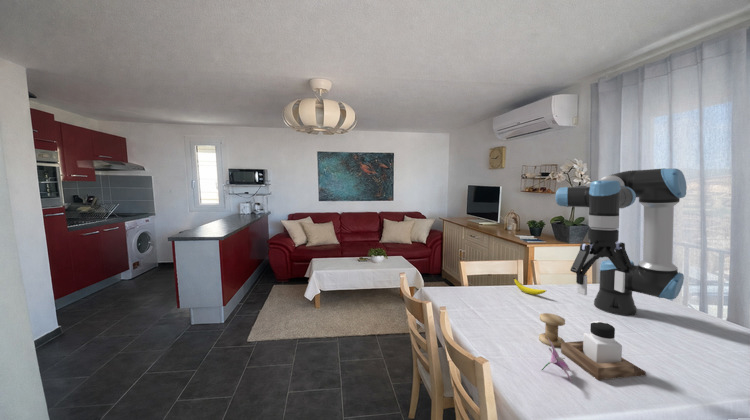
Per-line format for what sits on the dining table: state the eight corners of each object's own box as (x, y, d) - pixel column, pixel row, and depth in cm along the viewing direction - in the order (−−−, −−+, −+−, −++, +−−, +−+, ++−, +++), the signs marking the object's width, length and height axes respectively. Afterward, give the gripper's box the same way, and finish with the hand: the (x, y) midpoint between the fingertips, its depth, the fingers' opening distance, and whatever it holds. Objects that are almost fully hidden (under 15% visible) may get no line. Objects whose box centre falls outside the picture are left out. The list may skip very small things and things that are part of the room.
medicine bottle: (621, 367, 85) (623, 330, 84) (596, 365, 86) (598, 328, 85) (605, 353, 92) (606, 319, 91) (582, 352, 93) (583, 318, 92)
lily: (560, 395, 77) (580, 369, 75) (522, 360, 86) (539, 336, 84) (571, 387, 85) (589, 364, 83) (535, 356, 94) (551, 334, 92)
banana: (544, 300, 140) (544, 288, 140) (511, 288, 157) (511, 278, 157) (548, 299, 142) (548, 287, 141) (515, 288, 159) (515, 277, 158)
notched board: (602, 349, 97) (603, 339, 97) (645, 375, 83) (646, 364, 83) (561, 352, 95) (561, 342, 95) (597, 380, 81) (598, 368, 81)
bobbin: (553, 335, 107) (553, 312, 106) (569, 346, 99) (570, 322, 98) (534, 336, 106) (534, 313, 105) (549, 348, 98) (550, 323, 97)
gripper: (625, 225, 93) (622, 286, 95) (558, 228, 91) (557, 290, 92) (649, 228, 86) (646, 294, 88) (577, 231, 83) (575, 299, 85)
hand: (600, 292), depth 90 cm, fingers open, 13 cm apart
